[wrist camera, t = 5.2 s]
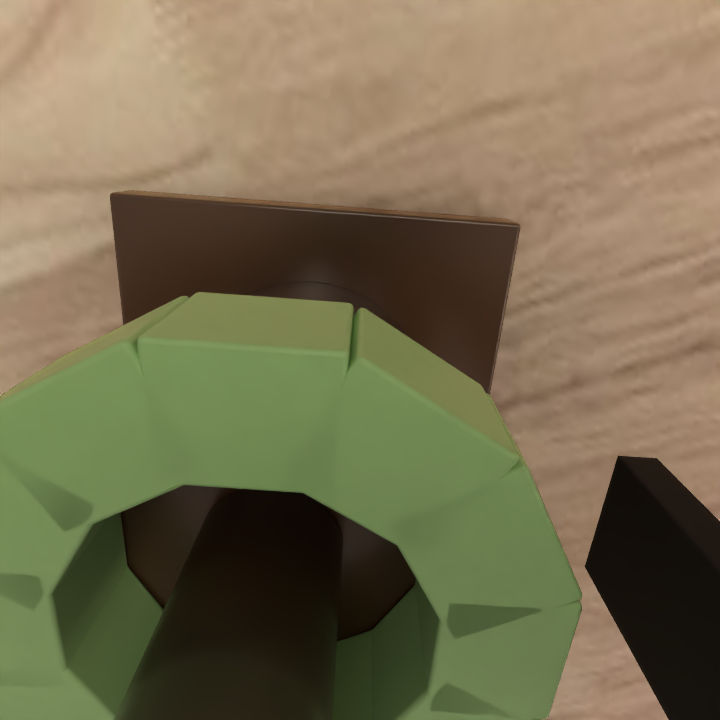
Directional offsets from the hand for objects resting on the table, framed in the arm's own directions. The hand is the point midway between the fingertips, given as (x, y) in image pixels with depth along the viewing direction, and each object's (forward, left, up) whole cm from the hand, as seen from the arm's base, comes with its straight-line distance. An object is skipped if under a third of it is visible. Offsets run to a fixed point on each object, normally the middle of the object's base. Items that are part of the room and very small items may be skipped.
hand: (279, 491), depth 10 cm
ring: (0, 0, +1) cm, 2 cm away
